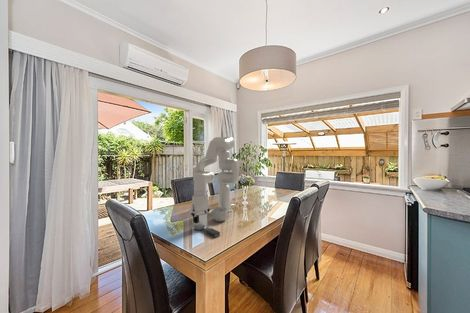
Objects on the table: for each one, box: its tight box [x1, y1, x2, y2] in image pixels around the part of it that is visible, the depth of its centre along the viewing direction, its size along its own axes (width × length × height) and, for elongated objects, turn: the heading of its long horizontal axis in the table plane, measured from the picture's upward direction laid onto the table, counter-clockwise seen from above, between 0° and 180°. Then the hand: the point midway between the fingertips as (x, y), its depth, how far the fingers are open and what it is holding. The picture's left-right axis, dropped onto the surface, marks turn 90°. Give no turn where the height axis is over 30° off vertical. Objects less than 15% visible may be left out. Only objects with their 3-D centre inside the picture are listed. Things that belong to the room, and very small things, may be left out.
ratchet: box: [193, 224, 221, 239], centre depth 123 cm, size 21×8×6 cm, turn 42°
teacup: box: [211, 206, 228, 222], centre depth 145 cm, size 14×11×8 cm
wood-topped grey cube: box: [193, 211, 208, 227], centre depth 128 cm, size 6×6×7 cm
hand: (200, 221), depth 128 cm, fingers open, 7 cm apart
